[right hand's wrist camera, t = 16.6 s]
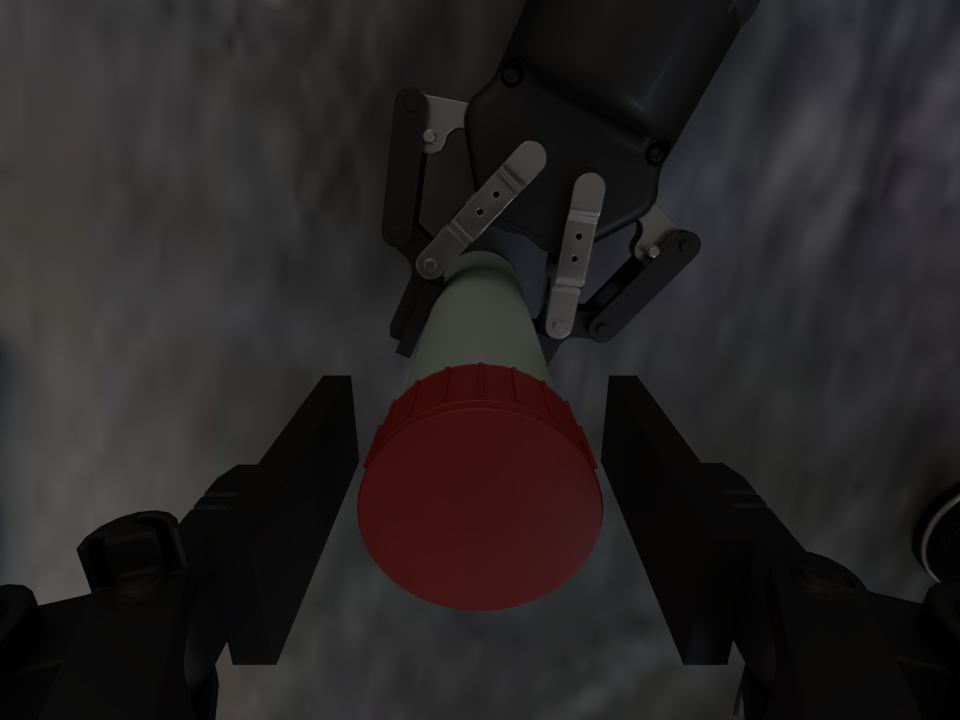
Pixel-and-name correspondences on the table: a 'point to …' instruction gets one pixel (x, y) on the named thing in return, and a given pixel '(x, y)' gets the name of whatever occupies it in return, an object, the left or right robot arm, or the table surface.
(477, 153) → the left robot arm
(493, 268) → the bottle
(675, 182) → the table surface
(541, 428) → the lid
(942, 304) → the table surface
